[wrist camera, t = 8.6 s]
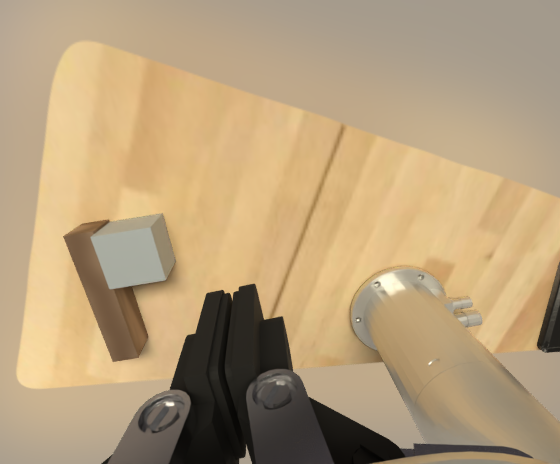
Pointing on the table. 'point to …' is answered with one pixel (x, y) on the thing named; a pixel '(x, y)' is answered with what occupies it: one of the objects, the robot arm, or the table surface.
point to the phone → (551, 320)
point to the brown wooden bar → (107, 297)
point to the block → (134, 251)
